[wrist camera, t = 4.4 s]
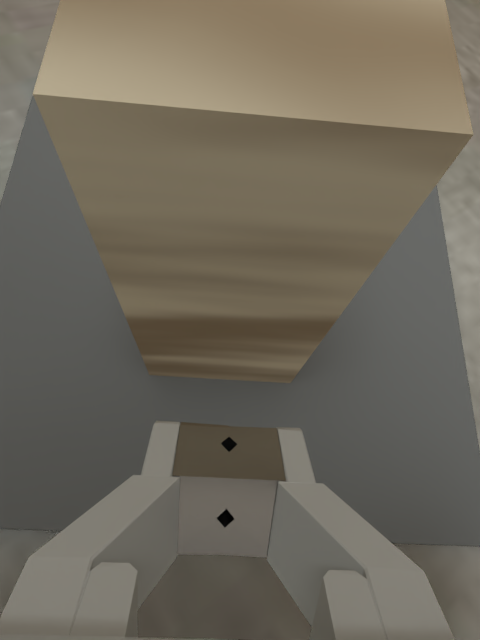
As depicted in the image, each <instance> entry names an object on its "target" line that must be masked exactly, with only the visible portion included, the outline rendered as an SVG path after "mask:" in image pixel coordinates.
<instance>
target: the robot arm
mask: <svg viewBox="0 0 480 640" xmlns="http://www.w3.org/2000/svg"><path fill="white" fill-rule="evenodd" d="M177 555H231V556H247V557H262V558H267V561H268V563H269V564H270V566H271V567H272V569H273V570H274V572H275V573H276V574H277V576H278V577H279V579H280V580H281V582H282V583H283V585H284V586H285V588H286V589H287V591H288V592H289V594H290V595H291V597H292V598H293V600H294V601H295V603H296V604H297V606H298V607H299V609H300V610H301V612H302V613H303V615H304V616H305V618H306V619H307V621H308V622H309V624H310V625H311V627H312V629H311V634H310V638H309V640H455V638H454V636H453V634H452V632H451V630H450V627H449V625H448V623H447V621H446V619H445V616H444V614H443V612H442V610H441V608H440V605H439V603H438V601H437V599H436V596H435V594H434V592H433V590H432V588H431V585H430V583H429V581H428V579H427V577H426V574H425V572H424V571H423V570H422V569H421V568H420V567H419V566H417V565H416V564H415V563H414V562H413V561H412V560H411V559H409V558H408V557H407V556H406V555H405V554H404V553H403V552H401V551H400V550H399V549H398V548H397V547H396V546H395V545H393V544H392V543H391V542H390V541H389V540H388V539H386V538H385V537H384V536H383V535H382V534H381V533H380V532H378V531H377V530H376V529H375V528H374V527H373V526H372V525H370V524H369V523H368V522H367V521H366V520H365V519H364V518H362V517H361V516H360V515H359V514H358V513H357V512H355V511H354V510H353V509H352V508H351V507H350V506H349V505H347V504H346V503H345V502H344V501H343V500H342V499H341V498H339V497H338V496H337V495H336V494H335V493H334V492H333V491H331V490H330V489H329V488H328V487H327V486H326V485H325V484H323V483H316V481H315V477H314V473H313V469H312V466H311V462H310V458H309V454H308V451H307V447H306V443H305V439H304V435H303V432H302V430H301V429H300V428H285V427H276V428H264V427H240V426H229V425H215V424H201V423H188V422H181V423H180V422H172V421H156V422H155V423H154V425H153V429H152V432H151V436H150V440H149V444H148V448H147V452H146V456H145V460H144V464H143V468H142V472H141V475H132V476H131V477H130V478H129V479H127V480H126V481H125V482H124V483H122V484H121V485H120V486H118V487H117V488H116V489H115V490H113V491H112V492H111V493H110V494H108V495H107V496H106V497H104V498H103V499H102V500H101V501H99V502H98V503H97V504H96V505H94V506H93V507H92V508H90V509H89V510H88V511H87V512H85V513H84V514H83V515H82V516H80V517H79V518H78V519H76V520H75V521H74V522H73V523H71V524H70V525H69V526H68V527H66V528H65V529H64V530H62V531H61V532H60V533H59V534H57V535H56V536H55V537H54V538H52V539H51V540H50V541H48V542H47V543H46V544H45V545H43V546H42V547H41V548H40V549H38V550H37V551H36V552H34V553H33V554H32V555H31V556H29V558H28V560H27V562H26V564H25V566H24V568H23V570H22V572H21V574H20V577H19V579H18V581H17V583H16V585H15V587H14V589H13V591H12V593H11V595H10V598H9V600H8V602H7V604H6V606H5V608H4V610H3V612H2V614H1V617H0V640H236V639H194V638H153V637H138V609H139V608H140V606H141V605H142V603H143V602H144V601H145V599H146V598H147V597H148V595H149V594H150V593H151V591H152V590H153V589H154V587H155V586H156V585H157V583H158V582H159V581H160V579H161V578H162V577H163V575H164V574H165V573H166V571H167V570H168V569H169V567H170V566H171V565H172V563H173V562H174V561H175V559H176V558H177Z"/></svg>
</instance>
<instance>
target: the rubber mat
mask: <svg viewBox="0 0 480 640" xmlns="http://www.w3.org/2000/svg"><path fill="white" fill-rule="evenodd" d="M156 421H172V422H180V423H181V422H188V423H201V424H215V425H229V426H240V427H264V428H276V427H285V428H300V429H301V430H302V432H303V435H304V439H305V443H306V447H307V451H308V454H309V458H310V462H311V466H312V469H313V473H314V477H315V481H316V483H323V484H325V485H326V486H327V487H328V488H329V489H330V490H331V491H333V492H334V493H335V494H336V495H337V496H338V497H339V498H341V499H342V500H343V501H344V502H345V503H346V504H347V505H349V506H350V507H351V508H352V509H353V510H354V511H355V512H357V513H358V514H359V515H360V516H361V517H362V518H364V519H365V520H366V521H367V522H368V523H369V524H370V525H372V526H373V527H374V528H375V529H376V530H377V531H378V532H380V533H381V534H382V535H383V536H384V537H385V538H386V539H388V540H389V541H390V542H391V543H402V544H429V545H456V546H480V451H479V445H478V439H477V433H476V426H475V420H474V414H473V408H472V402H471V395H470V389H469V383H468V377H467V371H466V364H465V358H464V352H463V346H462V340H461V333H460V327H459V321H458V315H457V309H456V302H455V296H454V290H453V284H452V278H451V271H450V265H449V259H448V253H447V247H446V240H445V234H444V228H443V222H442V216H441V209H440V203H439V197H438V191H437V185H436V186H435V187H434V189H433V190H432V191H431V193H430V194H429V195H428V197H427V198H426V200H425V201H424V202H423V204H422V205H421V206H420V208H419V209H418V210H417V212H416V213H415V214H414V216H413V217H412V219H411V220H410V221H409V223H408V224H407V225H406V227H405V228H404V229H403V231H402V232H401V234H400V235H399V236H398V238H397V239H396V240H395V242H394V243H393V244H392V246H391V247H390V248H389V250H388V251H387V253H386V254H385V255H384V257H383V258H382V259H381V261H380V262H379V263H378V265H377V266H376V267H375V269H374V270H373V272H372V273H371V274H370V276H369V277H368V278H367V280H366V281H365V282H364V284H363V285H362V287H361V288H360V289H359V291H358V292H357V293H356V295H355V296H354V297H353V299H352V300H351V301H350V303H349V304H348V306H347V307H346V308H345V310H344V311H343V312H342V314H341V315H340V316H339V318H338V319H337V320H336V322H335V323H334V325H333V326H332V327H331V329H330V330H329V331H328V333H327V334H326V335H325V337H324V338H323V339H322V341H321V342H320V344H319V345H318V346H317V348H316V349H315V350H314V352H313V353H312V354H311V356H310V357H309V359H308V360H307V361H306V363H305V364H304V365H303V367H302V368H301V369H300V371H299V372H298V373H297V375H296V376H295V378H294V379H293V380H292V382H291V383H278V382H261V381H243V380H226V379H209V378H191V377H174V376H157V375H149V373H148V370H147V368H146V365H145V363H144V361H143V358H142V356H141V353H140V351H139V349H138V346H137V344H136V341H135V339H134V337H133V334H132V332H131V329H130V327H129V325H128V322H127V320H126V317H125V315H124V312H123V310H122V308H121V305H120V303H119V300H118V298H117V296H116V293H115V291H114V288H113V286H112V284H111V281H110V279H109V276H108V274H107V272H106V269H105V267H104V264H103V262H102V260H101V257H100V255H99V252H98V250H97V248H96V245H95V243H94V240H93V238H92V236H91V233H90V231H89V228H88V226H87V223H86V221H85V219H84V216H83V214H82V211H81V209H80V207H79V204H78V202H77V199H76V197H75V195H74V192H73V190H72V187H71V185H70V183H69V180H68V178H67V175H66V173H65V171H64V168H63V166H62V163H61V161H60V159H59V156H58V154H57V151H56V149H55V147H54V144H53V142H52V139H51V137H50V134H49V132H48V130H47V127H46V125H45V122H44V120H43V118H42V115H41V113H40V110H39V108H38V106H37V103H36V101H35V98H34V96H33V97H32V100H31V103H30V107H29V110H28V113H27V117H26V120H25V124H24V127H23V130H22V134H21V137H20V140H19V144H18V147H17V151H16V154H15V157H14V161H13V164H12V167H11V171H10V174H9V178H8V181H7V184H6V188H5V191H4V194H3V198H2V201H1V205H0V528H1V529H28V530H54V531H62V530H64V529H65V528H66V527H68V526H69V525H70V524H71V523H73V522H74V521H75V520H76V519H78V518H79V517H80V516H82V515H83V514H84V513H85V512H87V511H88V510H89V509H90V508H92V507H93V506H94V505H96V504H97V503H98V502H99V501H101V500H102V499H103V498H104V497H106V496H107V495H108V494H110V493H111V492H112V491H113V490H115V489H116V488H117V487H118V486H120V485H121V484H122V483H124V482H125V481H126V480H127V479H129V478H130V477H131V476H132V475H141V472H142V468H143V464H144V460H145V456H146V452H147V448H148V444H149V440H150V436H151V432H152V429H153V425H154V423H155V422H156Z"/></svg>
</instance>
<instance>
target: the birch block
mask: <svg viewBox="0 0 480 640" xmlns="http://www.w3.org/2000/svg"><path fill="white" fill-rule="evenodd" d="M33 96H34V98H35V101H36V103H37V106H38V108H39V110H40V113H41V115H42V118H43V120H44V122H45V125H46V127H47V130H48V132H49V134H50V137H51V139H52V142H53V144H54V147H55V149H56V151H57V154H58V156H59V159H60V161H61V163H62V166H63V168H64V171H65V173H66V175H67V178H68V180H69V183H70V185H71V187H72V190H73V192H74V195H75V197H76V199H77V202H78V204H79V207H80V209H81V211H82V214H83V216H84V219H85V221H86V223H87V226H88V228H89V231H90V233H91V236H92V238H93V240H94V243H95V245H96V248H97V250H98V252H99V255H100V257H101V260H102V262H103V264H104V267H105V269H106V272H107V274H108V276H109V279H110V281H111V284H112V286H113V288H114V291H115V293H116V296H117V298H118V300H119V303H120V305H121V308H122V310H123V312H124V315H125V317H126V320H127V322H128V325H129V327H130V329H131V332H132V334H133V337H134V339H135V341H136V344H137V346H138V349H139V351H140V353H141V356H142V358H143V361H144V363H145V365H146V368H147V370H148V373H149V375H157V376H174V377H191V378H209V379H226V380H243V381H261V382H278V383H291V382H292V380H293V379H294V378H295V376H296V375H297V373H298V372H299V371H300V369H301V368H302V367H303V365H304V364H305V363H306V361H307V360H308V359H309V357H310V356H311V354H312V353H313V352H314V350H315V349H316V348H317V346H318V345H319V344H320V342H321V341H322V339H323V338H324V337H325V335H326V334H327V333H328V331H329V330H330V329H331V327H332V326H333V325H334V323H335V322H336V320H337V319H338V318H339V316H340V315H341V314H342V312H343V311H344V310H345V308H346V307H347V306H348V304H349V303H350V301H351V300H352V299H353V297H354V296H355V295H356V293H357V292H358V291H359V289H360V288H361V287H362V285H363V284H364V282H365V281H366V280H367V278H368V277H369V276H370V274H371V273H372V272H373V270H374V269H375V267H376V266H377V265H378V263H379V262H380V261H381V259H382V258H383V257H384V255H385V254H386V253H387V251H388V250H389V248H390V247H391V246H392V244H393V243H394V242H395V240H396V239H397V238H398V236H399V235H400V234H401V232H402V231H403V229H404V228H405V227H406V225H407V224H408V223H409V221H410V220H411V219H412V217H413V216H414V214H415V213H416V212H417V210H418V209H419V208H420V206H421V205H422V204H423V202H424V201H425V200H426V198H427V197H428V195H429V194H430V193H431V191H432V190H433V189H434V187H435V186H436V185H437V183H438V182H439V181H440V179H441V178H442V176H443V175H444V174H445V172H446V171H447V170H448V168H449V167H450V166H451V164H452V163H453V161H454V160H455V159H456V157H457V156H458V155H459V153H460V152H461V151H462V149H463V148H464V147H465V145H466V144H467V142H468V141H469V140H470V138H471V137H472V136H473V131H472V126H471V121H470V117H469V112H468V107H467V102H466V98H465V93H464V88H463V83H462V79H461V74H460V69H459V65H458V60H457V55H456V50H455V46H454V41H453V36H452V32H451V27H450V22H449V17H448V13H447V8H446V3H445V0H60V4H59V7H58V10H57V14H56V17H55V20H54V24H53V27H52V30H51V34H50V37H49V41H48V44H47V47H46V51H45V54H44V57H43V61H42V64H41V68H40V71H39V74H38V78H37V81H36V84H35V88H34V91H33Z"/></svg>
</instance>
